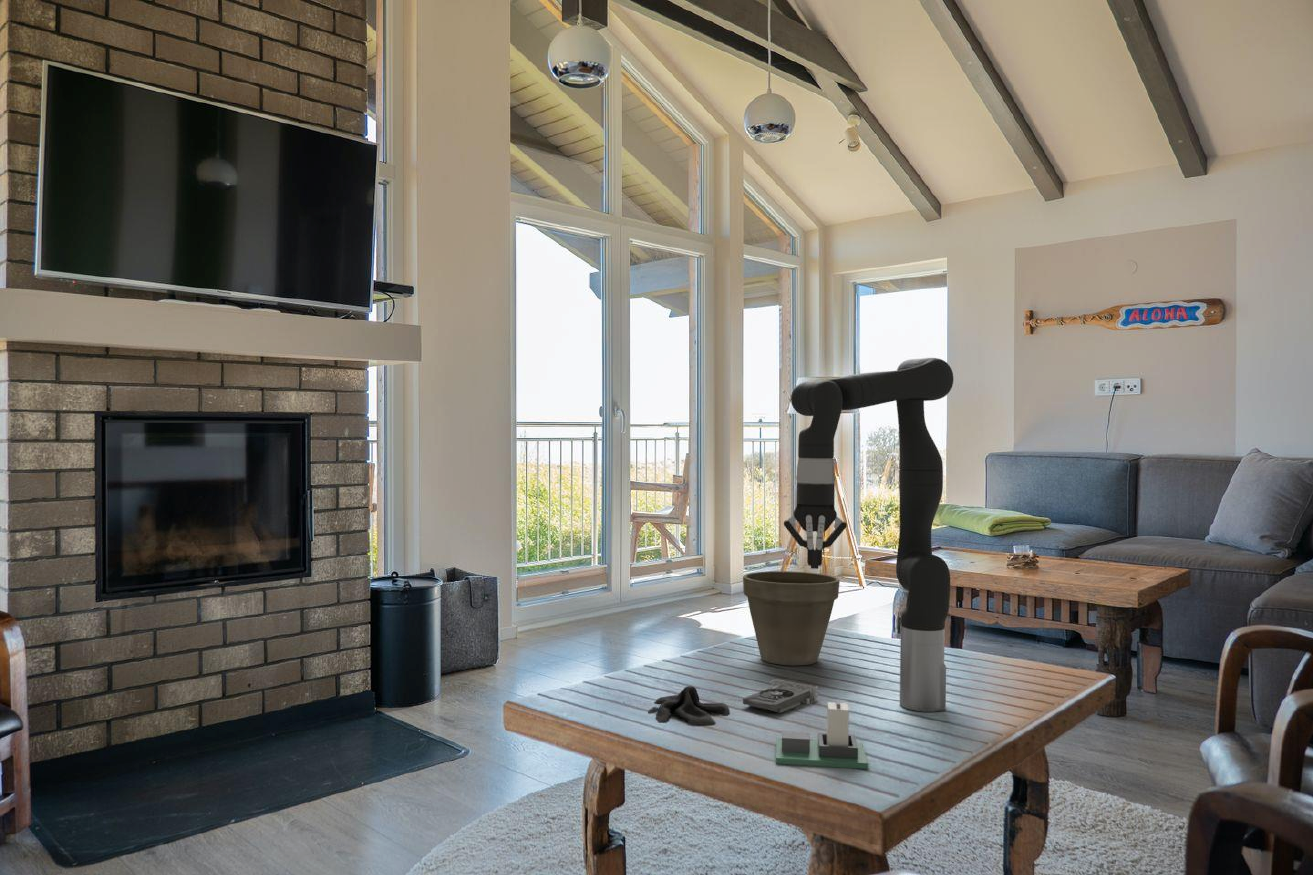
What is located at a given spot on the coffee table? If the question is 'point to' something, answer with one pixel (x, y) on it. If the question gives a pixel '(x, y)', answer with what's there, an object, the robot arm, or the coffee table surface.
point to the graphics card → (782, 697)
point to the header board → (819, 751)
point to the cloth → (688, 708)
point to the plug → (837, 723)
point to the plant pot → (790, 613)
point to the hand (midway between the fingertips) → (814, 567)
